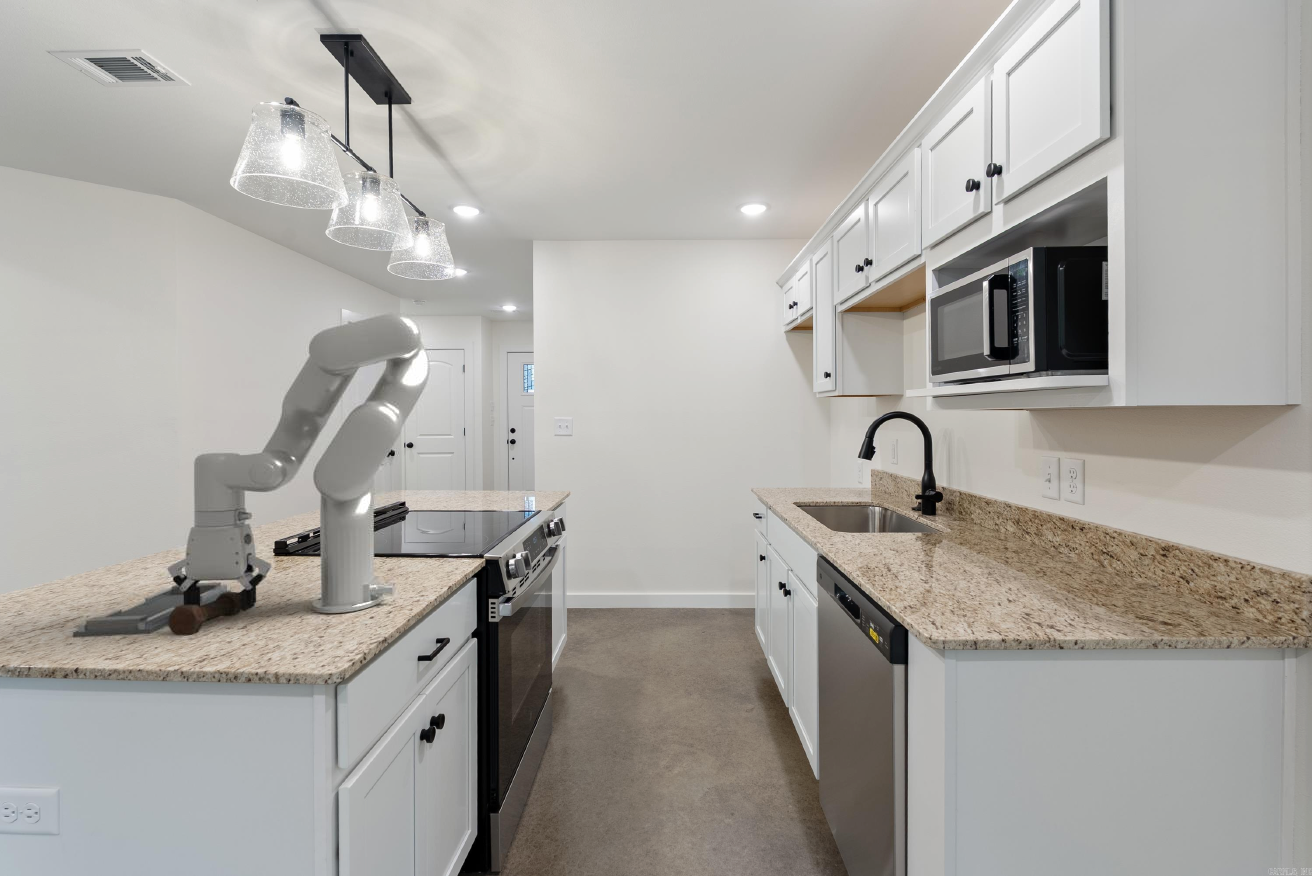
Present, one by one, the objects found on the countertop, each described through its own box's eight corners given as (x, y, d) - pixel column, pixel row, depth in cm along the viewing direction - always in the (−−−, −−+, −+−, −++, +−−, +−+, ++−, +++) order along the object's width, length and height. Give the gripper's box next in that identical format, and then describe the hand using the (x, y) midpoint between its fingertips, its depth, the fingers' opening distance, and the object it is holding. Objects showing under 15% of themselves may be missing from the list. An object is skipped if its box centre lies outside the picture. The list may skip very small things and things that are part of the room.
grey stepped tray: (231, 593, 121) (231, 590, 121) (150, 633, 99) (149, 628, 99) (169, 596, 120) (169, 592, 120) (73, 636, 97) (72, 632, 97)
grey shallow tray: (226, 590, 121) (226, 581, 121) (144, 629, 99) (144, 618, 98) (173, 592, 120) (173, 583, 120) (78, 632, 97) (77, 621, 97)
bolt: (250, 616, 113) (186, 643, 98) (228, 604, 113) (161, 628, 98) (264, 591, 113) (202, 614, 98) (242, 579, 113) (178, 600, 98)
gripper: (280, 515, 110) (280, 601, 111) (183, 515, 108) (183, 604, 109) (258, 521, 103) (258, 614, 103) (154, 522, 101) (154, 617, 101)
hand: (220, 609), depth 106 cm, fingers open, 9 cm apart
